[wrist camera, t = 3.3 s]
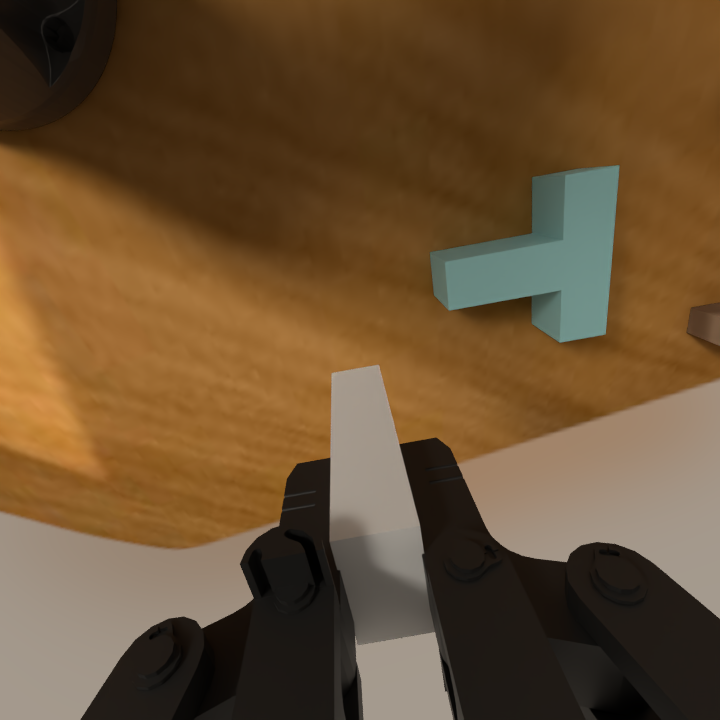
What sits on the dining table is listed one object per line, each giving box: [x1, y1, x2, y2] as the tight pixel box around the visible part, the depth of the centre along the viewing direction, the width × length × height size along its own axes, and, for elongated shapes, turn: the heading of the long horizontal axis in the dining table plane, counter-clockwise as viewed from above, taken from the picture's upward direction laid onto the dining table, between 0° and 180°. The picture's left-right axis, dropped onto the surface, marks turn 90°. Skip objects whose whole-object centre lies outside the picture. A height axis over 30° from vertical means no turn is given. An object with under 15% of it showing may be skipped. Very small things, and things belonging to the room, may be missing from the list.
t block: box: [430, 165, 620, 343], centre depth 26 cm, size 10×10×4 cm
